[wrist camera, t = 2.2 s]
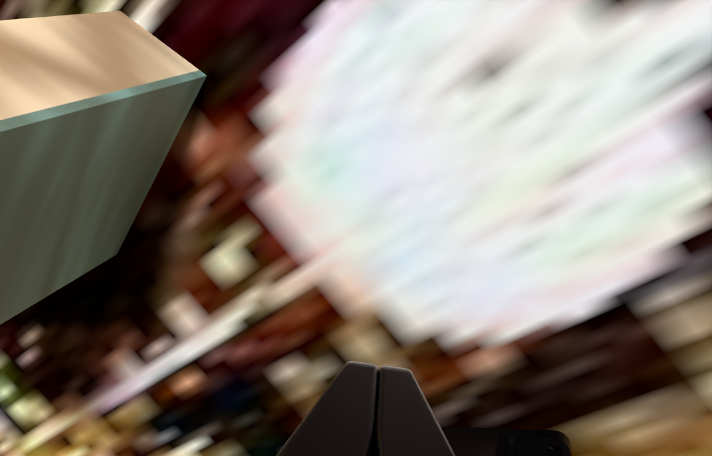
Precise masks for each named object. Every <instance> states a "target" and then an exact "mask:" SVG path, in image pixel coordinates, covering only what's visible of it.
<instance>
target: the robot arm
mask: <svg viewBox="0 0 712 456" xmlns="http://www.w3.org/2000/svg"><path fill="white" fill-rule="evenodd" d="M552 444H553V445H557V446H559V447H560V449H558V450H553V449H550V448H549V447H548V445H552ZM276 456H572V452H571V444H570V441H569V439H568V437H567V436H566V435H565V434H563V433H561V432H559V431H554V430H514V429H498V428H459V427H440V425H439V423H438V421H437V420H436V418H435V416H434V414H433V412H432V410H431V408H430V406H429V404H428V402H427V400H426V398H425V396H424V394H423V392H422V391H421V389H420V387H419V385H418V383H417V381H416V379H415V377H414V375H413V374H412V372H411V371H410V370H409V369H406V368H399V367H391V366H382V367H380V369H379V371H378V368H377V366H376V365H374V364H369V363H361V362H354V361H350V362H347V363H346V364H345V365H344V366H343V368H342V369H341V370H340V372H339V373H338V374H337V376H336V377H335V378H334V380H333V381H332V382H331V384H330V385H329V386H328V388H327V389H326V390H325V392H324V393H323V394H322V396H321V397H320V398H319V400H318V401H317V402H316V404H315V405H314V406H313V408H312V409H311V410H310V412H309V413H308V414H307V416H306V417H305V418H304V420H303V421H302V422H301V424H300V425H299V426H298V428H297V429H296V430H295V432H294V433H293V434H292V436H291V437H290V438H289V439H288V441H287V442H286V443H285V445H284V446H283V447H282V449H281V450H280V451H279V453H278V454H277V455H276Z"/></svg>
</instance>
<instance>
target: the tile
mask: <svg viewBox="0 0 712 456" xmlns="http://www.w3.org/2000/svg"><path fill="white" fill-rule="evenodd" d="M205 78H206V75H205V74H204V73H202V72H201V71H200V70H198V69H197V68H196V67H194V66H193V65H192V64H190V63H189V62H188V61H186V60H185V59H184V58H182V57H181V56H180V55H178V54H177V53H176V52H174V51H173V50H172V49H170V48H169V47H168V46H166V45H165V44H164V43H162V42H161V41H160V40H158V39H157V38H156V37H154V36H153V35H152V34H150V33H149V32H148V31H146V30H145V29H144V28H142V27H141V26H140V25H138V24H137V23H136V22H134V21H133V20H132V19H130V18H129V17H127V16H126V15H125V14H123V13H122V12H121V11H114V12H102V13H89V14H77V15H65V16H52V17H40V18H28V19H15V20H3V21H0V324H2V323H3V322H5V321H7V320H8V319H10V318H12V317H13V316H15V315H17V314H18V313H20V312H22V311H23V310H25V309H27V308H28V307H30V306H32V305H33V304H35V303H37V302H38V301H40V300H42V299H43V298H45V297H47V296H48V295H50V294H52V293H53V292H55V291H57V290H58V289H60V288H62V287H63V286H65V285H67V284H68V283H70V282H72V281H73V280H75V279H77V278H78V277H80V276H82V275H83V274H85V273H87V272H88V271H90V270H92V269H93V268H95V267H97V266H98V265H100V264H102V263H103V262H105V261H107V260H108V259H110V258H112V257H113V256H115V255H117V253H118V251H119V249H120V247H121V245H122V243H123V241H124V239H125V237H126V235H127V233H128V231H129V229H130V227H131V225H132V223H133V221H134V219H135V217H136V215H137V213H138V211H139V209H140V207H141V205H142V203H143V201H144V199H145V197H146V195H147V193H148V191H149V190H150V188H151V186H152V184H153V182H154V180H155V178H156V176H157V174H158V172H159V170H160V168H161V166H162V164H163V162H164V160H165V158H166V156H167V154H168V152H169V150H170V148H171V146H172V144H173V142H174V140H175V138H176V136H177V134H178V132H179V130H180V128H181V126H182V124H183V122H184V120H185V118H186V116H187V114H188V112H189V110H190V108H191V106H192V104H193V102H194V100H195V98H196V96H197V94H198V92H199V90H200V88H201V86H202V84H203V82H204V80H205Z"/></svg>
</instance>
